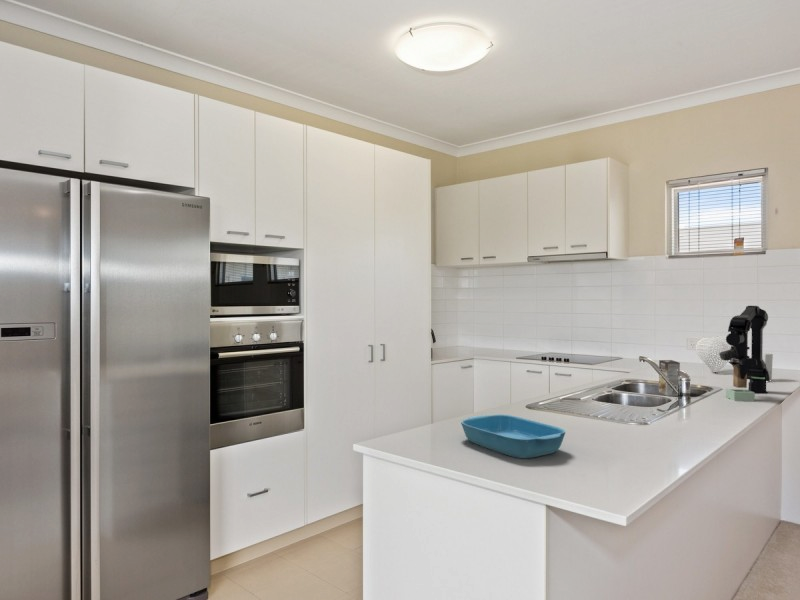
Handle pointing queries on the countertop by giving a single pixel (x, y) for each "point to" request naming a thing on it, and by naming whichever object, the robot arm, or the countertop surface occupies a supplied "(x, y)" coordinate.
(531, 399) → the countertop surface
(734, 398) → the socket
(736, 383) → the peg
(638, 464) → the countertop surface
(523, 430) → the casserole dish
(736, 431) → the countertop surface
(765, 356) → the skincare box
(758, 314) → the robot arm
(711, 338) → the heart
